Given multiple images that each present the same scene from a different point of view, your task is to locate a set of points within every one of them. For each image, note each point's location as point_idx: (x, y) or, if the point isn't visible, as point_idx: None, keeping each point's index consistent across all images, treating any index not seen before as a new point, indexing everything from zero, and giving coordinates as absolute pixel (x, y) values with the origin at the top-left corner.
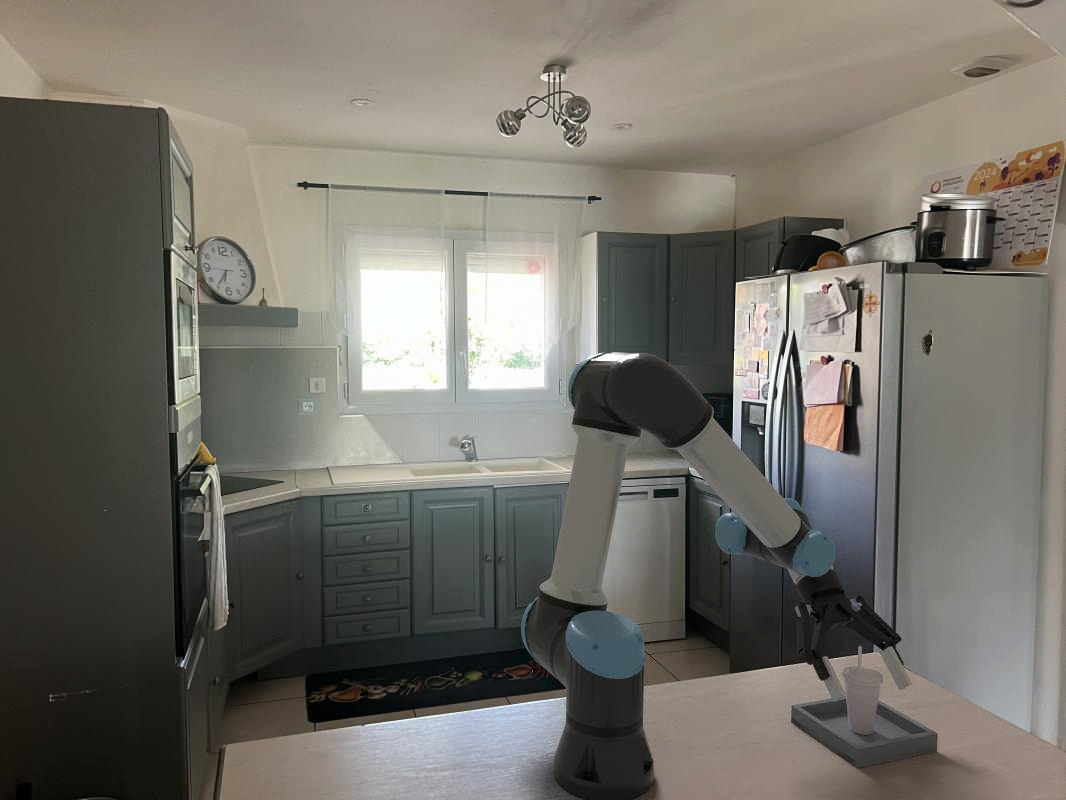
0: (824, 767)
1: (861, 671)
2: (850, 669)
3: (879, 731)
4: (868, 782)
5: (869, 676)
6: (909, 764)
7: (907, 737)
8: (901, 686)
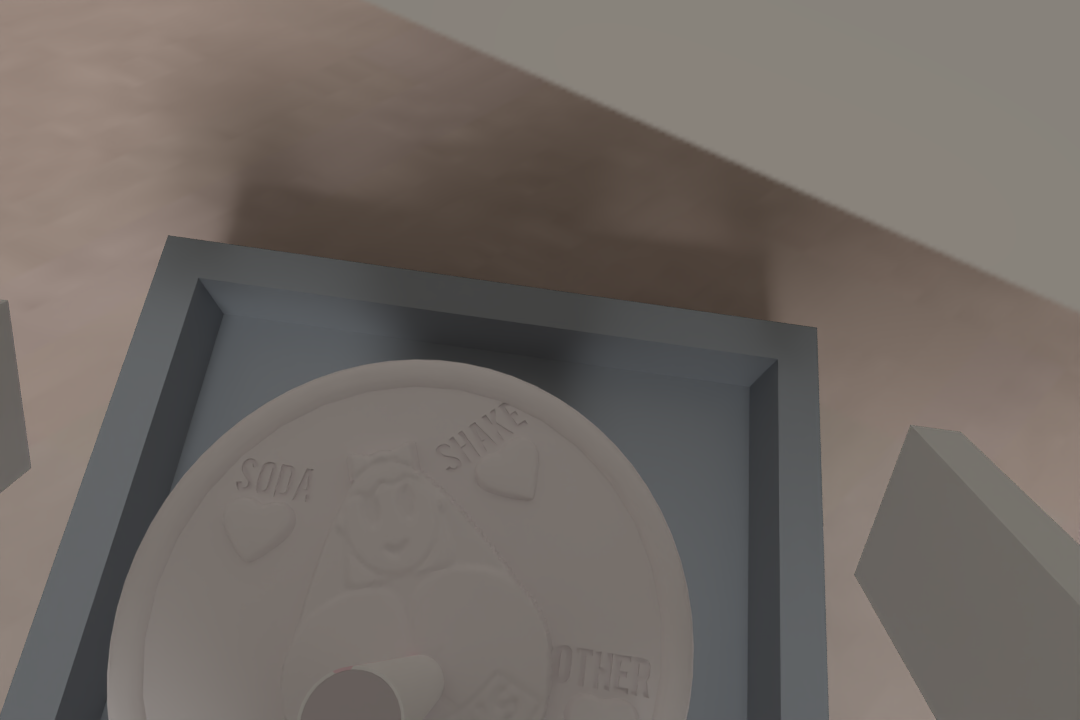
0: None
1: (409, 648)
2: None
3: None
4: (811, 264)
5: (437, 481)
6: (480, 277)
7: (400, 289)
8: (10, 425)
